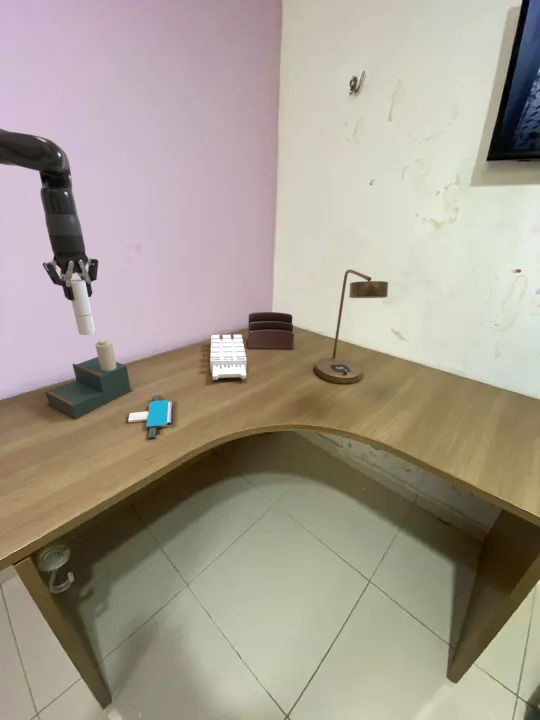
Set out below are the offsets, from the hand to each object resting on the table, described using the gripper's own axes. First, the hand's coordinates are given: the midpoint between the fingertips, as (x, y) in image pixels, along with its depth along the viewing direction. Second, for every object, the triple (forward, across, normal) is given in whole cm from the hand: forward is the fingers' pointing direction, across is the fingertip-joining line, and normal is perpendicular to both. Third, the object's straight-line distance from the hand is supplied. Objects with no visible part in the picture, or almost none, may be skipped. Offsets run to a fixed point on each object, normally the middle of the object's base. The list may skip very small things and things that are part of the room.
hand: (79, 298), depth 87 cm
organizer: (+30, -40, +22) cm, 54 cm away
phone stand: (+30, +1, +26) cm, 39 cm away
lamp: (+30, -52, +64) cm, 88 cm away
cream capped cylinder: (+21, -1, +6) cm, 22 cm away
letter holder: (+30, -65, +26) cm, 76 cm away
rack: (+30, +4, +2) cm, 30 cm away
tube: (+10, 0, 0) cm, 10 cm away
